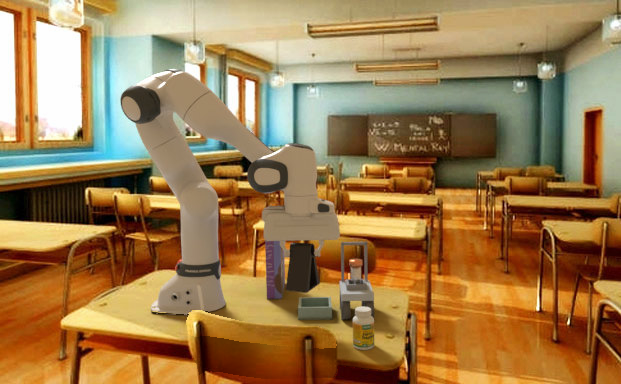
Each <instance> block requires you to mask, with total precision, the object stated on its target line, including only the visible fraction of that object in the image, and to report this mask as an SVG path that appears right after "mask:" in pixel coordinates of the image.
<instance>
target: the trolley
mask: <svg viewBox="0 0 621 384" xmlns="http://www.w3.org/2000/svg"><path fill="white" fill-rule="evenodd" d="M345 246H363V247H364V253H363V254H364V255H363V256H364V258H363V259H364V278H361V284H351V278H350V279H349V278H348V279H345ZM340 260H341V261H340V262H341V263H340V264H341V265H340V269H341V275H340V276H341V277H340V278H341V280H339V310H340V318H341V320H351V314H352V313H351V302H361V307H369V308H371V315H370V316H372V317H373V318H374V319H375V302H374V301H375V292H374V290H373V287H372V285H371V281H370V280H368V241H341V242H340Z"/></svg>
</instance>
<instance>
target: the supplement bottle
mask: <svg viewBox="0 0 621 384" xmlns="http://www.w3.org/2000/svg"><path fill="white" fill-rule="evenodd" d="M370 315H371V308H369V307H362V306H358V307H355V309H354V316H353V318H352V346H353V347H354V348H355V349H357V350H360V351H361V350H362V351H368V350H372V349H373V348H374V347H375V317H374V318H373V317H372V316H370Z"/></svg>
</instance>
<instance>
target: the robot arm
mask: <svg viewBox="0 0 621 384" xmlns="http://www.w3.org/2000/svg"><path fill="white" fill-rule="evenodd" d="M120 106H121V110H122V112H123V114H124V115H125V117H126V118H127V119H128V120H129V121H131V122H132V123H135V127H136V130H137V132H138V135H139V137H140V139H141V142H142V143H143V145H144V148H145V150H146V151H147V152H148V154H149V156H150V157H151V159H152V161H153V163H154V164H155V166H156V168H157V169H158V171H159V172H160V174H161V176H162V177H163V179H164V180H165V183H167V185H168V186H169V188H170V190H171V192H172V193H173V194H174V197H175V199H176V200H177V201H178V203H179V208H180V210H179V211H180V214H179V215H180V241H181V242H180V245H181V259H179V260H178V261H177V263H176V264H175V268H174V269H175V273H176V274H174V275H173V276H172V277H171V278H170V279H169V280H168V281H166V282H165V283H164V284H163V285H162V286H161V288H160V289H159V292H158V297H157V299H156V300H154V302H152V303H151V305H150V311H151V310H152V311H158V312H166V313H173V314H172V315H176V314H184V315H183V316H188V315H187V314H188V313H189V312H191V311H192V310H203V311H208V312H213V311H217V310H220V309H221V308H223V307H224V306H226V303H227V302H226V300H225V297H224V294H223V293H224V291H223V288H222V283H221V277H222V267H221V266H222V265H221V260H220V258H219V257H220V256H219V233H218V231H219V196H218V193H217V192H216V190H215V189H214V188H213V186H212V185H211V184H210V182H209V180H208V178H207V177H206V175H205V173H204V171H203V170H202V167H201V166H200V164H199V162H198V160H197V158H196V156H195V154H194V153H193V151H192V150H191V149H192V148H190V146H189V144H188V143H187V141H186V139H185V137H184V136H183V134H182V132H181V131H180V129H179V127H178V126H177V124H176V122H175V120H174V113H175V114H177V115H178V117H179V118H181V120H182V121H183V122H185V124H186V125H187V126H189V128H191V130H193V131H194V132H196V133H197V134H199V135H200V136H202V137H203V138H205V139H210V140H215V141H219V142H223V143H225V144H228V145H229V146H231V147H233V148H235V149H236V150H237V151H238V152H239V153H241V154H242V155H243V156H244V157H245V159H247V160H248V161H249V162H251V164H250V165H249V167H248V169H247V174H246V175H247V176H246V177H247V181H248V183H249V186H250V187H251V188H252V189H253V190H254V191H256V192H258V193H262V194H271V193H274V192H278V191H283V199H284V200H283V201H284V203H283V205H268V206H267V207H265V208H263V209H262V211H261V219H262V221H263V223H264V225H263V239H264V241H265V240H266V241H280V246H281V248H282V249H283V251H284V258H290V249H287V247H286V242H287V241H288V242H290V241H291V242H292V241H293V242H294V241H295V242H296V241H318V244H319V246H318V247H317V248H315V258H316V257H321V250H322V249H323V247H324V245H325V241H330V240H332V241H336V240H338V239H339V238H340V237H341V231H340V225H339V224H340V223H339V218H338V215H337V213H336V212H335V203H334V202H332V201H330V200H327V199H323V198H320V197H318V194H319V193H318V189H317V179H318V167H317V164H318V163H317V157H316V153H315V150H314V149H313V148H312V147H311V146H309V145H306V144H303V143H294V142H293V143H292V142H289V143H286V144H285V145H284V146H283V147H281V148H279V150H277V151H275V150H272V149H271V148H270V147H269V146H268V145H266V144H265V143H264V142H263V141H262V140H261V139H260V138H258V137H257V136H256V135H255V134H254V133H253V132H252V131H251V130H250V129H248V128H247V127H246V126H245V125H244V124H243V123H242V122H241V121H240V120H239V119H238V117H237V116H236V115H235V114H234V113H233V112H232V111H231V110H230V108H229V107H228V106H227V105H226V104H225V103H224V102H223V101H222V100H221V99H220V97H218V95H217V94H216V93H215V92H214V91H212V89H210V88H209V87H208V86H207V85H206V84H204V83H203V82H202V81H201V80H199V79H198V78H197V77H195V76H194V75H192V74H191V73H189V72H187V71H183V70H182V69H178V68H172V69H171V68H170V69H166V70H164V71H163V72H159V73H155V74H152V75H149V76H147V78H145V79H143V80H141V81H139V82H138V83H136V84H134V85H130V86H128V87H127V88H126V89H125V90H124V91H123V92H122V93H121V95H120ZM153 307H155V308H153ZM208 312H207V313H208Z"/></svg>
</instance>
